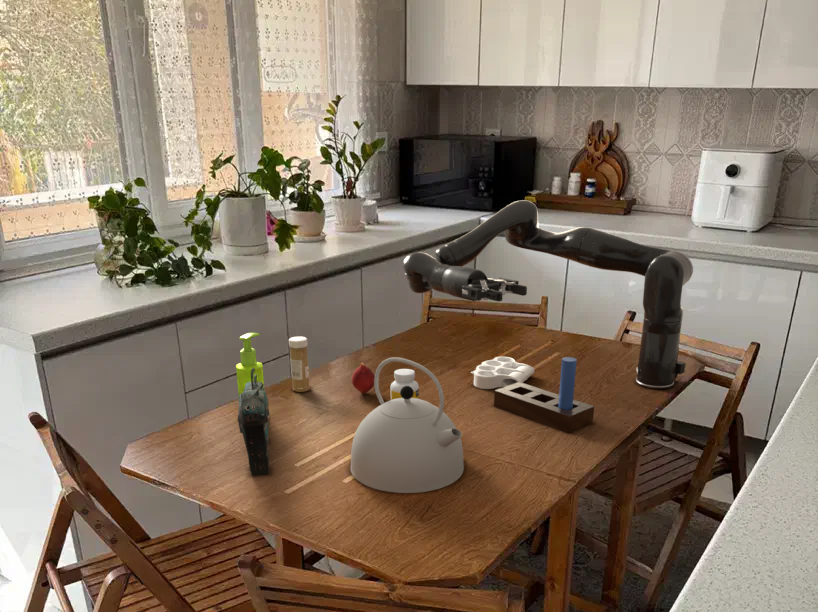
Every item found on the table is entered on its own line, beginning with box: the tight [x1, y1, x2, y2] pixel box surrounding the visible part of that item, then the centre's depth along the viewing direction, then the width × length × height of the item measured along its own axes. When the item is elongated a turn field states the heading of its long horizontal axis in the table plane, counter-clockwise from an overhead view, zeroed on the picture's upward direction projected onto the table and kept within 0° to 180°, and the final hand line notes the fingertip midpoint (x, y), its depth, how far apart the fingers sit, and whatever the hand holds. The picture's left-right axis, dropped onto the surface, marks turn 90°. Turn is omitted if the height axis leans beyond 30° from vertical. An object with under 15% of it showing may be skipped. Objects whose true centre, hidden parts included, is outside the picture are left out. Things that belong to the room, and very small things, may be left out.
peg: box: [558, 356, 578, 411], centre depth 175 cm, size 3×3×15 cm
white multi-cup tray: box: [470, 356, 536, 390], centre depth 204 cm, size 3×18×15 cm
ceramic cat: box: [237, 368, 271, 476], centre depth 157 cm, size 20×6×20 cm, turn 9°
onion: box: [351, 362, 375, 395], centre depth 194 cm, size 6×6×8 cm
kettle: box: [350, 356, 465, 494], centre depth 152 cm, size 25×23×23 cm
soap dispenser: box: [235, 331, 265, 395], centre depth 177 cm, size 6×7×20 cm
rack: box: [493, 382, 595, 434], centre depth 182 cm, size 9×22×4 cm, turn 42°
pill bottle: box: [389, 368, 420, 400], centre depth 177 cm, size 6×6×12 cm
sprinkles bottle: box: [288, 335, 311, 393], centre depth 196 cm, size 5×5×13 cm
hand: (513, 294), depth 182 cm, fingers open, 8 cm apart
